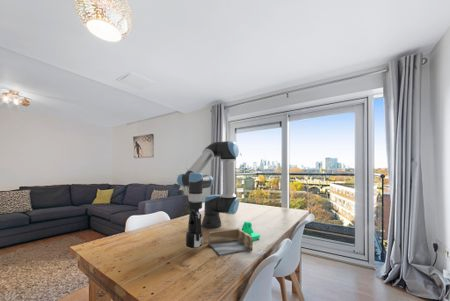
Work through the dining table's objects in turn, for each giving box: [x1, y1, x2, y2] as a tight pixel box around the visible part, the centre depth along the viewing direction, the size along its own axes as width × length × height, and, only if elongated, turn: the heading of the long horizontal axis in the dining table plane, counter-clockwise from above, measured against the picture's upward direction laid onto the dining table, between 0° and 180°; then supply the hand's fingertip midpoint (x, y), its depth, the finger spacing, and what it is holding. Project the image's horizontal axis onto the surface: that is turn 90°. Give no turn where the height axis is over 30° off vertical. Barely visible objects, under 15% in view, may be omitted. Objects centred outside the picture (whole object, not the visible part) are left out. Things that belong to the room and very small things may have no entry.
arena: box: [208, 228, 254, 257], centre depth 114 cm, size 16×20×7 cm
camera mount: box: [240, 221, 261, 242], centre depth 128 cm, size 12×8×10 cm, turn 129°
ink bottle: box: [185, 221, 204, 249], centre depth 108 cm, size 10×9×12 cm
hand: (194, 243), depth 108 cm, fingers closed on ink bottle, 9 cm apart
